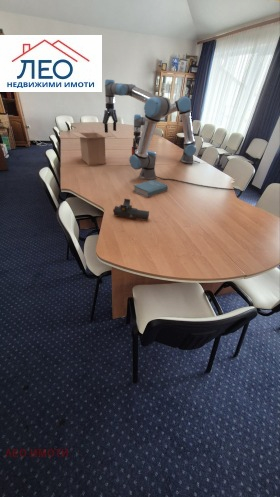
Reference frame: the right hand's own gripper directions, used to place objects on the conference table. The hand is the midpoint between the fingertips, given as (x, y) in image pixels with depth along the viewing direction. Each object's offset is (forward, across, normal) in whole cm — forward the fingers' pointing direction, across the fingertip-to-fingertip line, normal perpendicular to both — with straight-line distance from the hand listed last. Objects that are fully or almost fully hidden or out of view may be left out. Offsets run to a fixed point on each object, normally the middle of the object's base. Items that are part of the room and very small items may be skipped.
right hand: (136, 154), depth 247 cm
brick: (+2, 0, 0) cm, 2 cm away
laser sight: (+6, +123, +59) cm, 136 cm away
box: (+5, +34, -34) cm, 49 cm away
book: (+7, +75, +52) cm, 92 cm away
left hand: (-28, +49, -2) cm, 57 cm away
